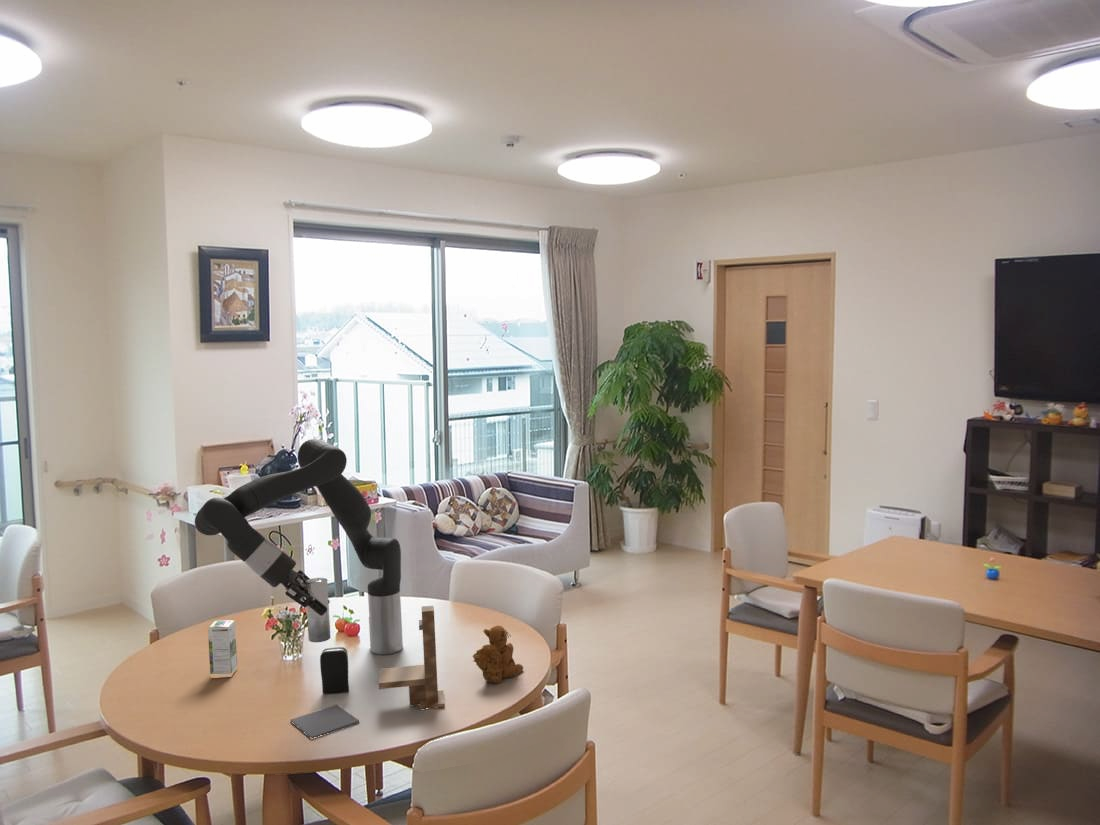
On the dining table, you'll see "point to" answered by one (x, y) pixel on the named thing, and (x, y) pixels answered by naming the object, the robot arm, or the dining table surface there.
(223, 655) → the syrup box
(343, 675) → the battery charger
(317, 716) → the felt pad
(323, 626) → the steel cylinder
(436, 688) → the walnut standard
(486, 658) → the stuffed squirrel
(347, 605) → the dining table surface
